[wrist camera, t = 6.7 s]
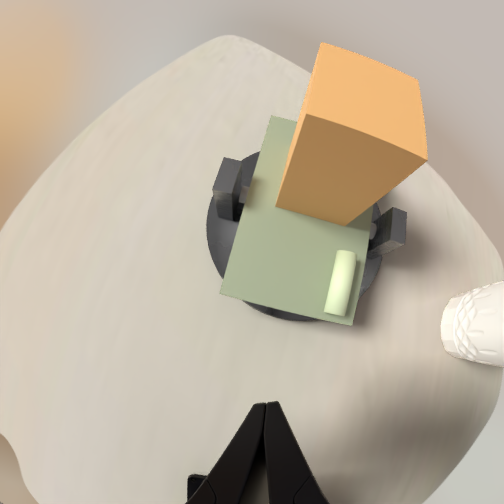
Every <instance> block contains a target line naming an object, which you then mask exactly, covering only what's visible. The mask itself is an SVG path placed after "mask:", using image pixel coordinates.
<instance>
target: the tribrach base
mask: <svg viewBox="0 0 504 504" xmlns="http://www.w3.org/2000/svg"><path fill="white" fill-rule="evenodd" d="M259 154H260V152H257V153H254V154H252V155H250V156H249V157H247V158H245V159H243V160H242V161H238V160H234V159H229V158H225V157H224V158H223V161H222V164H221V166H220V169H219V172H218V175H217V177H216V180H215V183H214V186H213V189H212V190H213V197H212V199H211V202H210V206H209V210H208V215H207V224H206V225H207V240H208V246H209V250H210V253H211V256H212V260H213V262H214V264H215V266H216V268H217V270H218V272H219V274H220V276H221V277H222V279H224V275H225V271H226V268H227V264H228V261H229V257H230V254H231V250H232V246H233V243H234V239H235V236H236V232H237V229H238V225H239V222H240V218H241V215H242V211H243V208H244V205H245V204H244V203H240V202H239V196H240V192H241V189H242V186H246V187H250V184H251V181H252V177H253V174H254V171H255V167H256V164H257V161H258V157H259ZM406 219H407V212H405V211H402V210H399V209H397V208H394V207H392V208H391V209H390V210H388V211H387V212H386V213H384V214H383V215H382V216H381V214H380V211H379V208H378V206H377V203H376V202H375V203H374V204H373V212H372V221H371V223H374V224H376V226H377V229H376V234H375V236H374V238H373V239H372V240H371V239H369V242H368V248H367V254H366V260H365V266H364V272H363V277H362V282H361V287H360V292H359V297H358V299H359V298H360V297H361V296H362V295H363V293H364V292H365V291H366V290H367V289H368V287H369V286H370V284H371V283H372V281H373V280H374V278H375V276H376V274H377V272H378V269H379V266H380V263H381V260H382V255H383V254H386V253H388V252H390V251H392V250H394V249H396V248H399V247H401V246H403V245H405V235H406ZM242 301H243V302H245V303H246V304H248V305H249V306H251V307H252V308H254V309H256V310H258V311H260V312H262V313H264V314H267V315H270V316H273V317H276V318H281V319H286V320H296V321H307V320H316V319H317V318H313V317H308V316H304V315H300V314H296V313H291V312H287V311H283V310H279V309H275V308H271V307H267V306H263V305H259V304H255V303H252V302H248V301H244V300H242Z"/></svg>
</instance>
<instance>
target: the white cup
mask: <svg viewBox="0 0 504 504" xmlns="http://www.w3.org/2000/svg"><path fill="white" fill-rule="evenodd" d="M440 327H441V341H442V343H443V346H444V348H445V351H447V352H448V353H449V354H450V355H452V356H453V357H457V358H462V359H468V360H470V361H473V362H478V363H483V364H487V365H492V366H499V367H504V280H503V281H500V282H496V283H493V284H490V285H487V286H483V287H479V288H476V289H474V290H472V291H467V292H463V293H459V294H458V295H456V296H454V297H453V298H451V299H450V301H449V302H448V304H447V306H446V307H445V309H444V312H443V316H442V320H441V324H440Z"/></svg>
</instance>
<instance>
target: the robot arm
mask: <svg viewBox="0 0 504 504" xmlns="http://www.w3.org/2000/svg"><path fill="white" fill-rule="evenodd" d="M192 479H195V480H192ZM268 503H269V504H330V503H329V502H328V500H327V499H326V497H325V496H324V494H323V493H322V491H321V489H320V487H319V486H318V484H317V482H316V480H315V478H314V476H313V474H312V472H311V470H310V468H309V466H308V464H307V462H306V459H305V457H304V455H303V453H302V451H301V449H300V447H299V445H298V443H297V441H296V438H295V436H294V434H293V432H292V430H291V428H290V425H289V423H288V421H287V419H286V417H285V415H284V412H283V410H282V408H281V406H280V404H279V402H278V401H274V402H268V403H267V404H266V403H256V404H254V405H253V407H252V408H251V410H250V412H249V413H248V415H247V416H246V418H245V420H244V421H243V423H242V425H241V426H240V428H239V429H238V431H237V432H236V434H235V436H234V437H233V439H232V440H231V442H230V443H229V445H228V446H227V448H226V449H225V451H224V452H223V454H222V455H221V457H220V458H219V460H218V461H217V463H216V464H215V466H214V467H213V469H212V470H211V472H210V473H209V474H208V476H207V477H206V476H199V475H190V476H189V477H188V483H187V502H186V503H185V504H268ZM0 504H3V503H1V502H0Z"/></svg>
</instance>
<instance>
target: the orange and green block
mask: <svg viewBox="0 0 504 504" xmlns="http://www.w3.org/2000/svg"><path fill="white" fill-rule="evenodd" d="M427 160H428V158H427V143H426V132H425V122H424V114H423V107H422V100H421V95H420V89H419V83H418V80H416V79H415V78H412V77H411V76H409V75H406V74H404V73H402V72H400V71H398V70H396V69H394V68H391V67H389V66H387V65H385V64H382V63H380V62H378V61H375V60H373V59H370V58H368V57H365V56H362V55H360V54H357V53H354V52H351V51H348V50H345V49H342V48H339V47H336V46H333V45H330V44H326V43H323V42H321V44H320V48H319V51H318V55H317V58H316V61H315V65H314V68H313V71H312V75H311V78H310V82H309V85H308V88H307V92H306V95H305V98H304V102H303V105H302V108H301V112H300V115H299V119H298V122H295V121H291V120H288V119H284V118H280V117H276V116H272V115H271V118H270V122H269V125H268V128H267V131H266V134H265V138H264V141H263V144H262V148H261V151H260V154H259V157H258V161H257V164H256V167H255V171H254V174H253V177H252V181H251V184H250V187H246V186H242V189H241V192H240V196H239V202H240V203H244V204H245V205H244V208H243V211H242V215H241V218H240V222H239V225H238V229H237V232H236V236H235V239H234V243H233V246H232V250H231V254H230V257H229V261H228V264H227V268H226V271H225V275H224V279H223V282H222V286H221V290H220V293H219V294H222V295H225V296H229V297H233V298H237V299H240V300H244V301H248V302H252V303H255V304H259V305H263V306H267V307H271V308H275V309H279V310H283V311H287V312H291V313H296V314H300V315H304V316H308V317H313V318H317V319H321V320H326V321H330V322H335V323H340V324H344V325H349V326H352V323H353V319H354V315H355V310H356V306H357V301H358V297H359V292H360V287H361V282H362V277H363V272H364V266H365V260H366V254H367V248H368V242H369V239H371V240H372V239H373V238H374V236H375V234H376V229H377V226H376V224H374V223H371V221H372V212H373V204H374V203H375V202H377V201H378V200H379V199H381V198H382V197H383V196H384V195H386V194H387V193H388V192H389V191H391V190H392V189H393V188H394V187H396V186H397V185H398V184H399V183H401V182H402V181H403V180H404V179H406V178H407V177H408V176H409V175H410V174H412V173H413V172H414V171H415V170H417V169H418V168H419V167H420V166H421V165H423V164H424V163H425V162H426V161H427Z"/></svg>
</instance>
